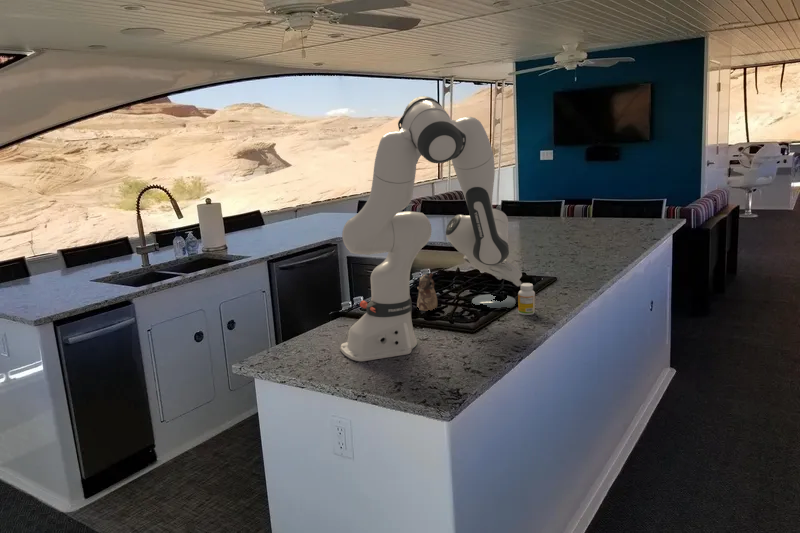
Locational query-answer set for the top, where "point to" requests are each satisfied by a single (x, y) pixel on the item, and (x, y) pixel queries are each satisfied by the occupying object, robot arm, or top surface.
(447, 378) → the top surface
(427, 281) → the figurine
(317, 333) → the top surface
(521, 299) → the supplement bottle
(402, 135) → the robot arm
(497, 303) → the dish
